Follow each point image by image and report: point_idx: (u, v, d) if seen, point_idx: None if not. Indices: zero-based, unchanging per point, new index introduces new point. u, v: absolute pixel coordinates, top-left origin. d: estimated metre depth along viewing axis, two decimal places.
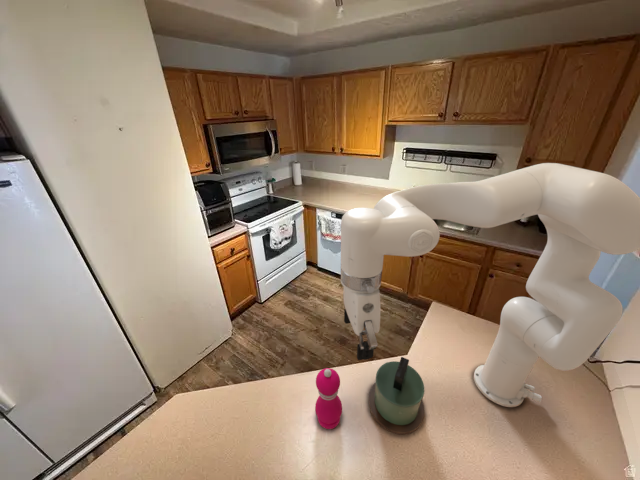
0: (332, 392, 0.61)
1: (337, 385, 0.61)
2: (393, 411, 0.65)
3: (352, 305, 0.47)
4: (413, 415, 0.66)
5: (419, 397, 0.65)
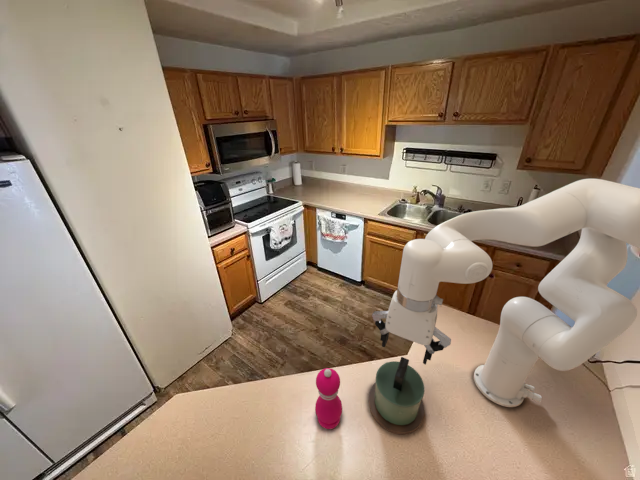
0: (332, 392, 0.61)
1: (337, 385, 0.61)
2: (393, 411, 0.65)
3: (423, 324, 0.53)
4: (413, 415, 0.66)
5: (419, 397, 0.65)
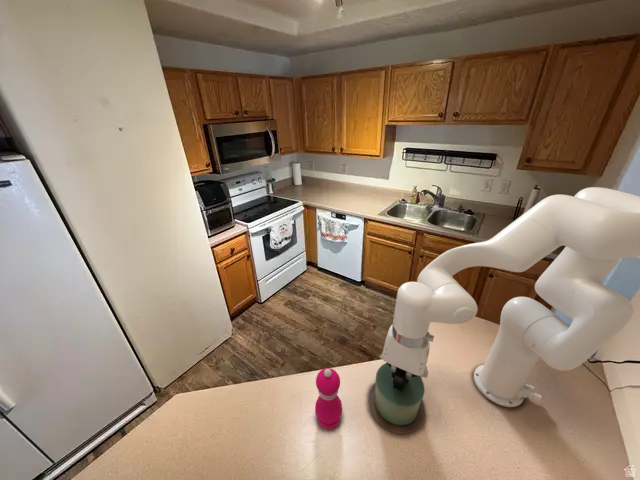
0: (332, 392, 0.61)
1: (337, 385, 0.61)
2: (393, 411, 0.65)
3: (416, 357, 0.58)
4: (413, 415, 0.66)
5: (419, 397, 0.65)
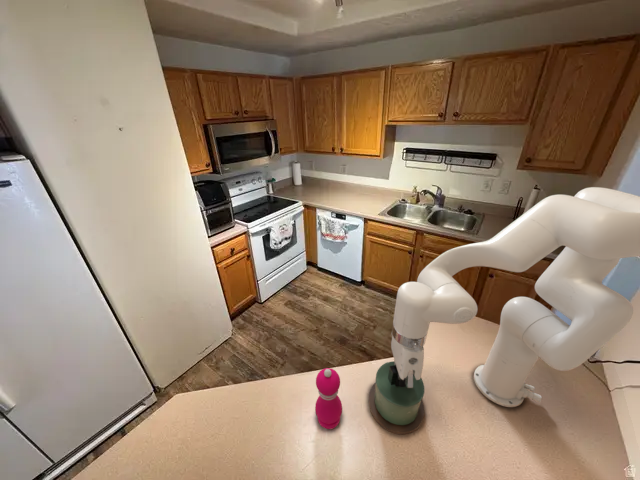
0: (332, 392, 0.61)
1: (337, 385, 0.61)
2: (377, 395, 0.69)
3: (400, 355, 0.59)
4: (394, 416, 0.66)
5: (403, 404, 0.63)
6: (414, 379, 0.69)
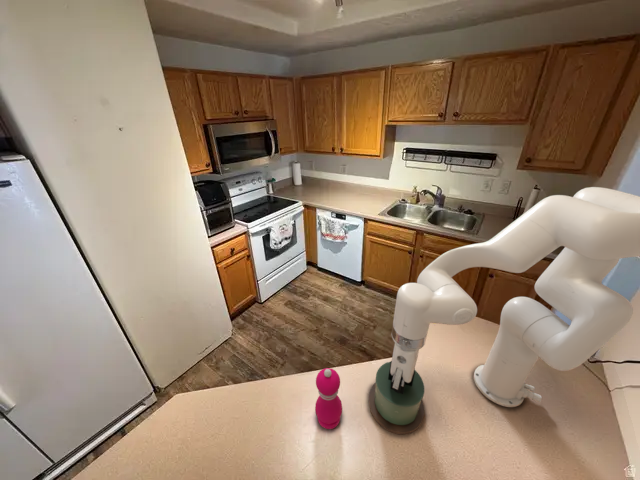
0: (332, 392, 0.61)
1: (337, 385, 0.61)
2: None
3: None
4: (383, 409, 0.68)
5: (390, 399, 0.64)
6: (416, 387, 0.67)
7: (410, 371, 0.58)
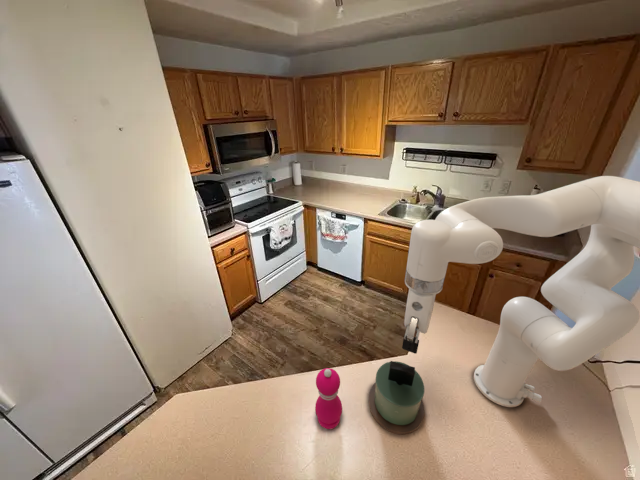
0: (332, 392, 0.61)
1: (337, 385, 0.61)
2: None
3: (407, 299, 0.55)
4: (383, 409, 0.68)
5: (390, 399, 0.64)
6: (416, 387, 0.67)
7: (427, 319, 0.52)
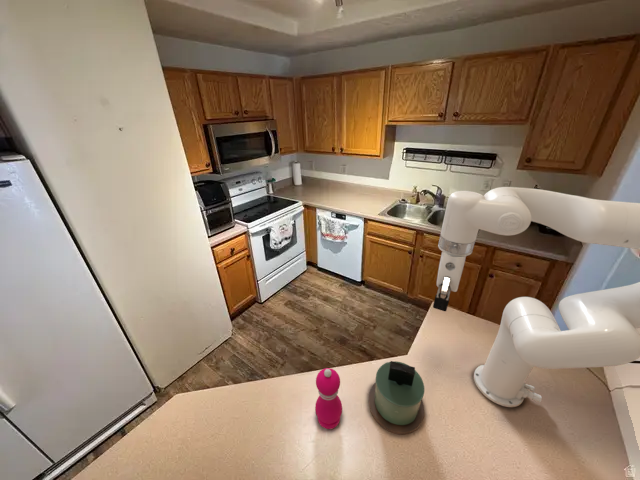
0: (332, 392, 0.61)
1: (337, 385, 0.61)
2: None
3: (440, 262, 0.63)
4: (383, 409, 0.68)
5: (390, 399, 0.64)
6: (416, 387, 0.67)
7: (458, 278, 0.60)
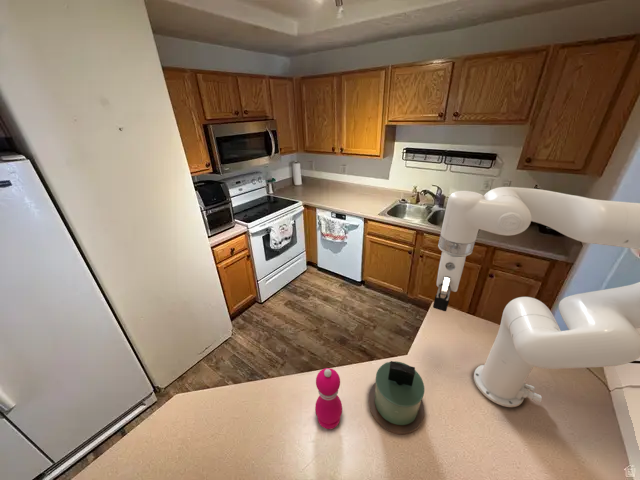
0: (332, 392, 0.61)
1: (337, 385, 0.61)
2: None
3: (440, 262, 0.63)
4: (383, 409, 0.68)
5: (390, 399, 0.64)
6: (416, 387, 0.67)
7: (458, 277, 0.60)
